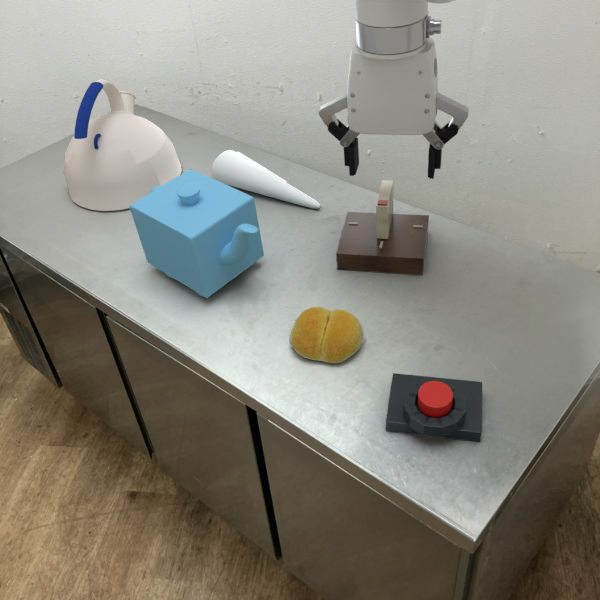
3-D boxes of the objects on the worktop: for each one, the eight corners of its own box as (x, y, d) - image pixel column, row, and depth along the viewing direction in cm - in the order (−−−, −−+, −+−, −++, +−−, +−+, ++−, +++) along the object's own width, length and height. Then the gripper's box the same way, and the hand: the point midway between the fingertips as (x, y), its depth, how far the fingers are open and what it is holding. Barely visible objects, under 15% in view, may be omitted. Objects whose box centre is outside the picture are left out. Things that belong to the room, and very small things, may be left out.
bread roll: (356, 370, 78) (354, 347, 75) (285, 359, 80) (281, 337, 77) (370, 322, 83) (369, 300, 81) (303, 313, 86) (300, 291, 83)
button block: (481, 391, 74) (484, 371, 71) (480, 452, 68) (483, 432, 65) (393, 382, 76) (392, 362, 74) (384, 440, 70) (384, 421, 68)
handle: (382, 211, 96) (382, 178, 92) (393, 212, 95) (393, 179, 92) (376, 238, 91) (376, 204, 87) (388, 239, 91) (387, 205, 87)
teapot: (139, 264, 97) (112, 186, 88) (194, 227, 103) (175, 150, 93) (240, 326, 85) (221, 243, 76) (296, 281, 91) (286, 198, 82)
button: (452, 392, 70) (453, 382, 69) (451, 419, 67) (452, 409, 66) (419, 389, 71) (419, 379, 70) (416, 415, 68) (416, 405, 67)
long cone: (295, 236, 101) (211, 187, 110) (322, 220, 105) (238, 173, 114) (297, 206, 98) (210, 157, 107) (324, 190, 101) (238, 144, 110)
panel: (429, 222, 98) (430, 205, 96) (423, 275, 89) (423, 257, 87) (350, 218, 101) (349, 201, 98) (337, 269, 92) (335, 252, 90)
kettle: (195, 149, 122) (173, 54, 109) (162, 213, 107) (133, 111, 95) (95, 150, 125) (63, 58, 113) (49, 212, 110) (7, 114, 98)
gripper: (476, 18, 70) (465, 157, 81) (319, 21, 74) (330, 154, 85) (473, 45, 65) (462, 191, 76) (305, 47, 69) (318, 185, 80)
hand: (392, 171), depth 81 cm, fingers open, 9 cm apart
